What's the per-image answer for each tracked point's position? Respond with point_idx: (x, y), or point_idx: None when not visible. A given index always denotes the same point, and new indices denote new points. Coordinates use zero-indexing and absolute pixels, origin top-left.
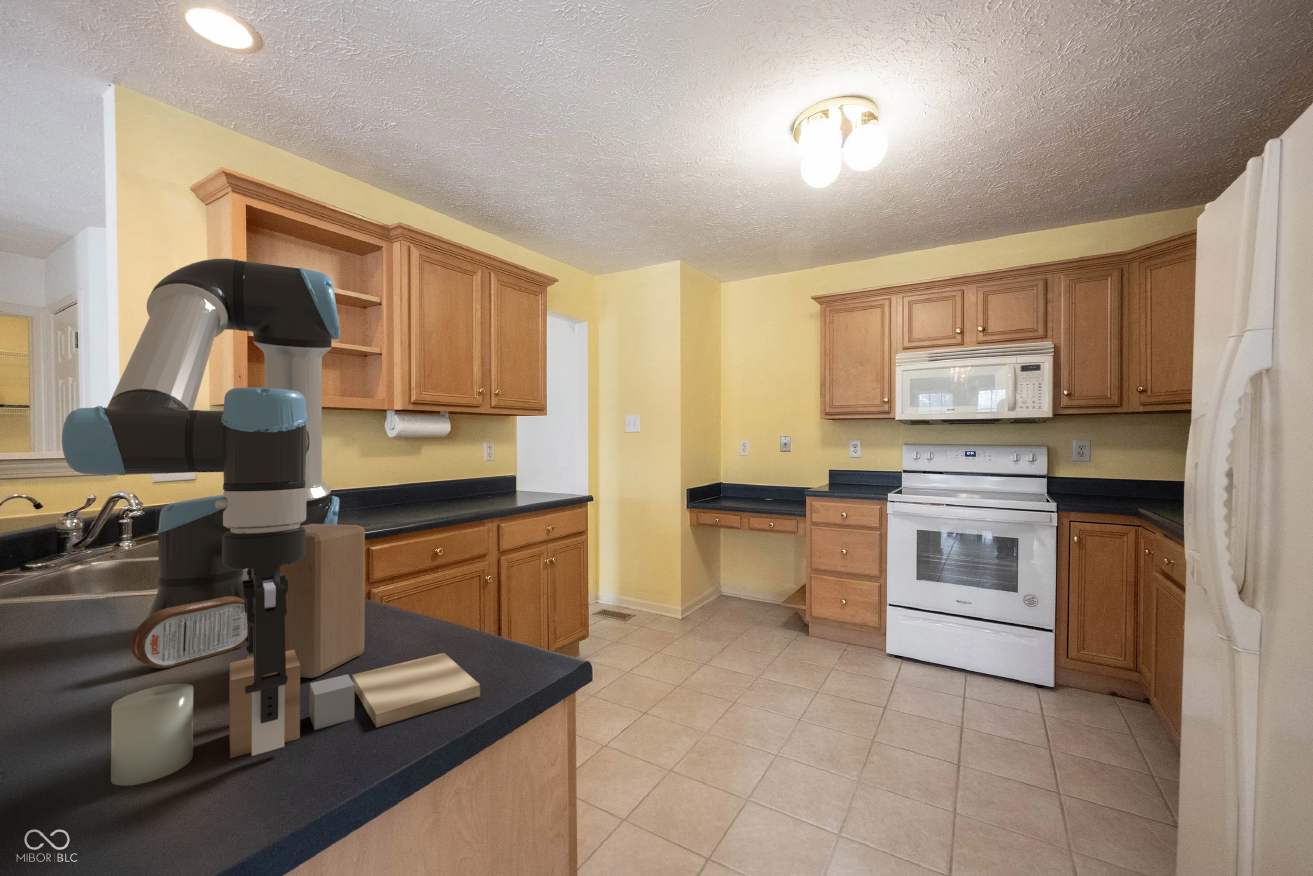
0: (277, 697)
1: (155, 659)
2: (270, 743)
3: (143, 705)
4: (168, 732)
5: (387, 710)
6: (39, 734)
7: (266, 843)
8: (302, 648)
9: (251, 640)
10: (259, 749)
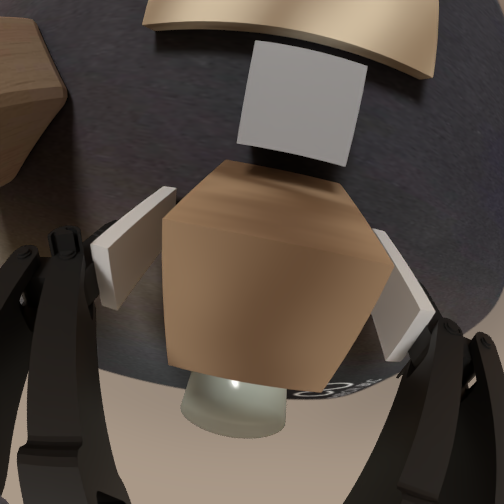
0: (440, 314)
1: None
2: None
3: (262, 429)
4: None
5: (432, 56)
6: None
7: (499, 290)
8: (12, 128)
9: (95, 343)
10: None
